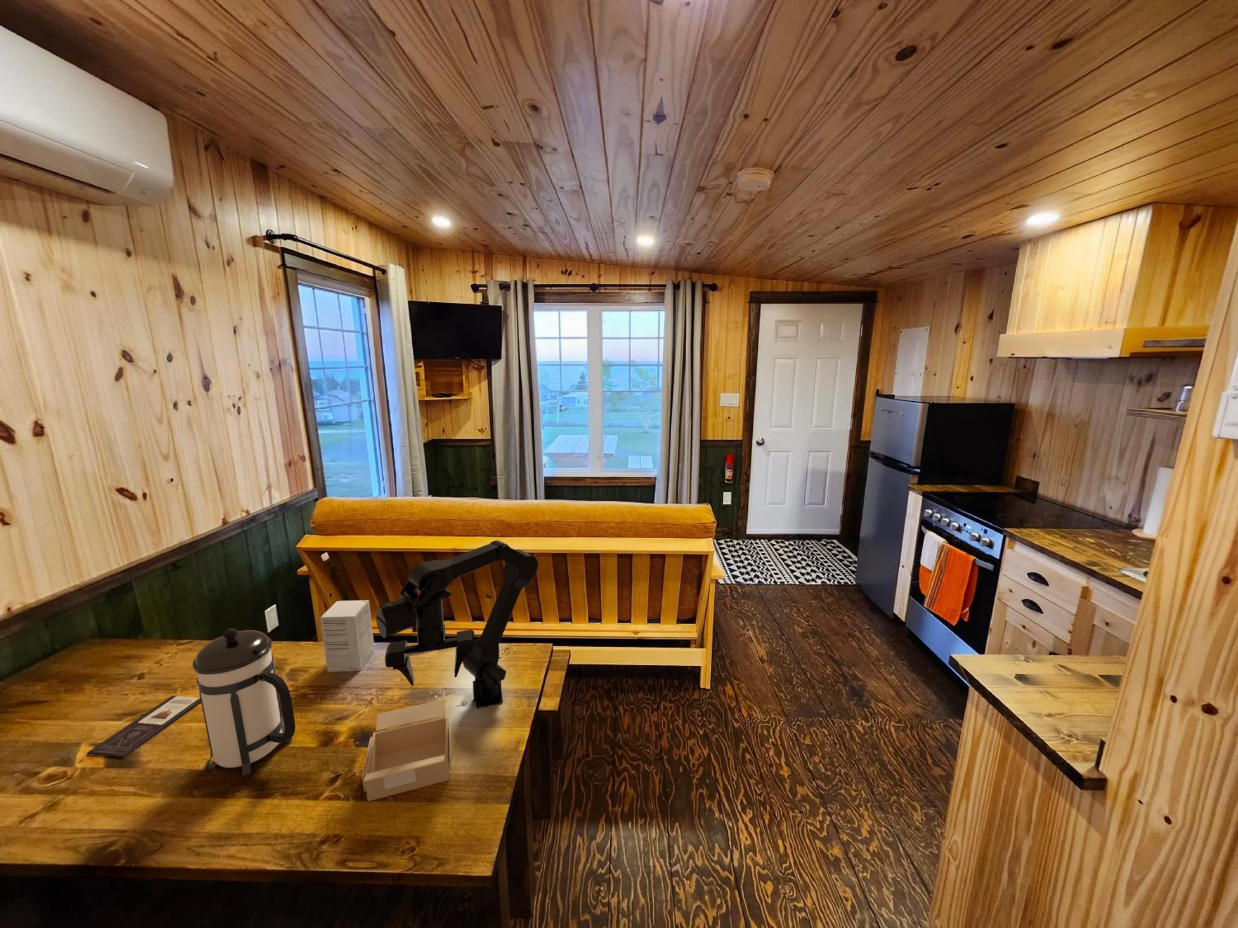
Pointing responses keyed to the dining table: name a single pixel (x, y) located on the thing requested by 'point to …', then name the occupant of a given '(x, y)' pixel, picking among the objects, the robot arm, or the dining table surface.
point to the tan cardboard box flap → (410, 715)
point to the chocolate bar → (145, 727)
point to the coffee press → (242, 699)
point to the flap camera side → (404, 768)
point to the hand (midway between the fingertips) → (434, 680)
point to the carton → (408, 757)
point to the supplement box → (347, 635)
